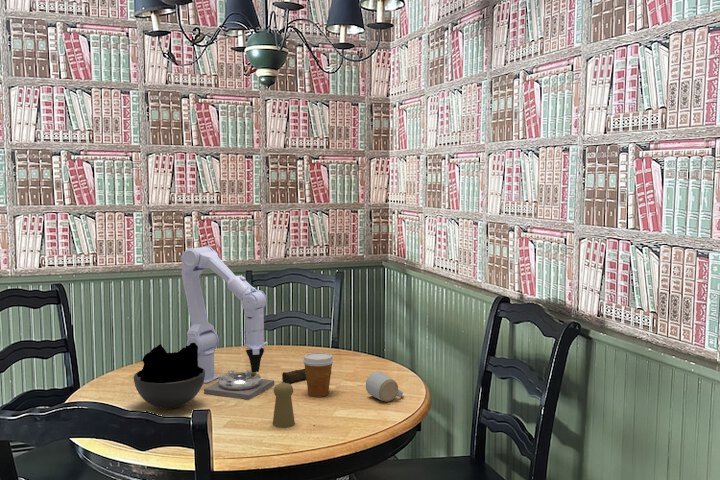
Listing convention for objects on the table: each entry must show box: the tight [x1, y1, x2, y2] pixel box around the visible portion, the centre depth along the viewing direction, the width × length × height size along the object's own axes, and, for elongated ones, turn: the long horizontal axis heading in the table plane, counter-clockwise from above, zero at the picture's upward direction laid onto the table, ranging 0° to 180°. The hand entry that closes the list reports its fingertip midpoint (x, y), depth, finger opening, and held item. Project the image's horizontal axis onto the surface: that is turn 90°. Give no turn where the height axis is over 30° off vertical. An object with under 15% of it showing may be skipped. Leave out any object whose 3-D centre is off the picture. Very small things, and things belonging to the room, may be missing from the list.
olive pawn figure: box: [272, 382, 296, 429], centre depth 181 cm, size 6×6×11 cm
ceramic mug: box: [365, 371, 404, 403], centre depth 203 cm, size 11×8×8 cm
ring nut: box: [218, 369, 262, 390], centre depth 211 cm, size 13×13×6 cm
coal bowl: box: [133, 343, 205, 410], centre depth 194 cm, size 20×20×19 cm
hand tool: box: [281, 368, 306, 384], centre depth 224 cm, size 19×4×5 cm, turn 127°
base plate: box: [203, 378, 275, 401], centre depth 212 cm, size 16×16×2 cm
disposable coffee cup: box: [302, 352, 334, 398], centre depth 207 cm, size 10×10×12 cm
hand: (255, 371), depth 213 cm, fingers closed, pressing on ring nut
